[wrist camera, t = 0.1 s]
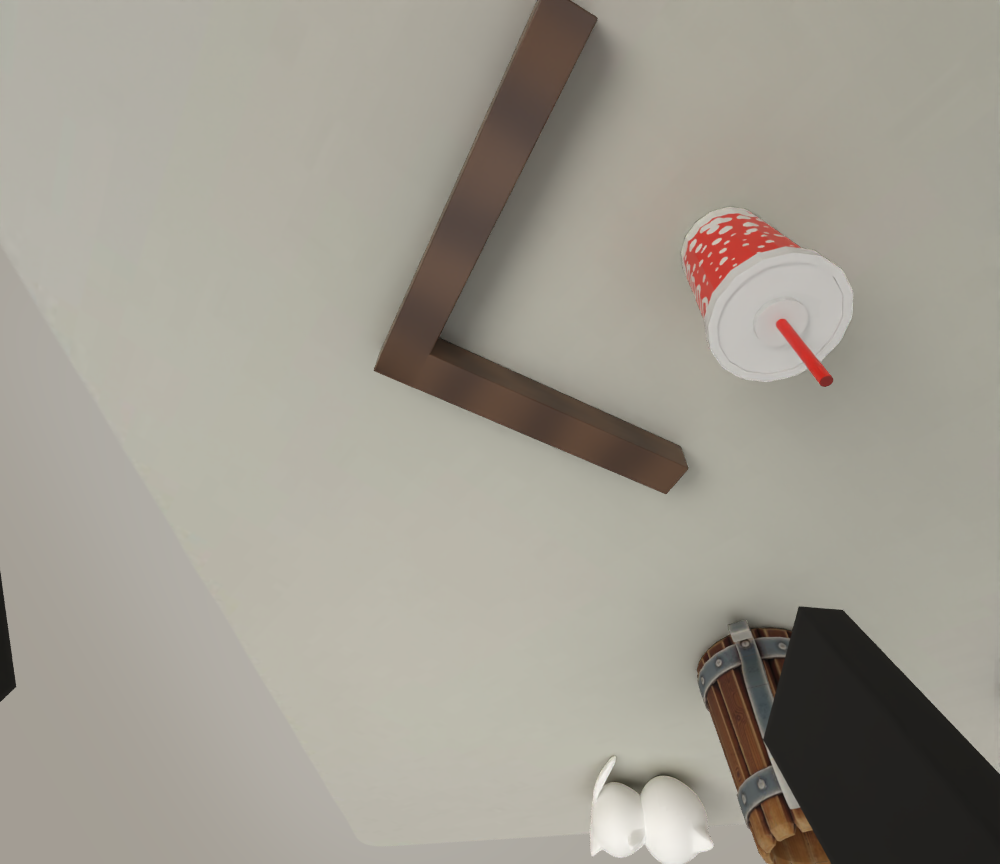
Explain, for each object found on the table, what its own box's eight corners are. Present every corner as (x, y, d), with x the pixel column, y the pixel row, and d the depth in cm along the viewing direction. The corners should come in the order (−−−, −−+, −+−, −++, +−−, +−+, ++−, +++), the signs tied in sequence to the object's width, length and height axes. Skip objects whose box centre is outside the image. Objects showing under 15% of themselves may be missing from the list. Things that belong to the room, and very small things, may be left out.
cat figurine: (592, 888, 62) (719, 889, 61) (585, 783, 62) (713, 781, 60) (589, 828, 71) (700, 828, 70) (583, 735, 70) (694, 732, 69)
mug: (828, 678, 58) (912, 867, 45) (712, 706, 60) (763, 891, 48) (791, 570, 50) (882, 764, 37) (660, 608, 52) (705, 801, 40)
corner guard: (582, -30, 28) (587, -31, 26) (684, 465, 44) (693, 488, 42) (256, 99, 31) (239, 107, 29) (462, 517, 47) (460, 541, 45)
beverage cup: (671, 196, 33) (754, 310, 22) (791, 187, 33) (938, 298, 22) (662, 305, 37) (731, 451, 26) (771, 298, 37) (889, 443, 25)
